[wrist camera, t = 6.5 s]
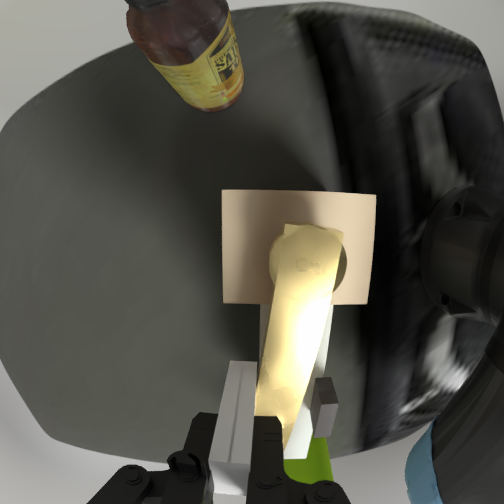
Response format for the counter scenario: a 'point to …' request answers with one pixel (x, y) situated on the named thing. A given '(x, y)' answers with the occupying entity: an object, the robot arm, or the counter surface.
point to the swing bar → (296, 315)
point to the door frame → (260, 282)
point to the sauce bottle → (190, 48)
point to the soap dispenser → (311, 463)
